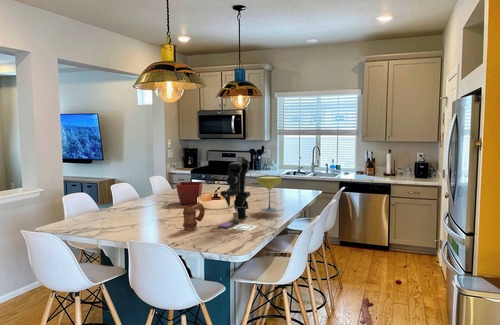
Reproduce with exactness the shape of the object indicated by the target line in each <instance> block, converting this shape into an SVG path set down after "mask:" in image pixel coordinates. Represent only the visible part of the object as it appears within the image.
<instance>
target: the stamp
mask: <svg viewBox="0 0 500 325" xmlns="http://www.w3.org/2000/svg"><path fill="white" fill-rule="evenodd" d="M231 223H234V224H235V225H240V219H239V218H238V213H237V212H236V211H235V212H232V221H231Z"/></svg>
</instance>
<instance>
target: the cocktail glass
mask: <svg viewBox="0 0 500 325" xmlns="http://www.w3.org/2000/svg"><path fill="white" fill-rule="evenodd" d="M256 180H257V183H258V184H259V185H261V186H262V187H265V188H266V190H267V191H268V207H267V208H266V207H265V208H263V209H261V210H262V211H263V212H275V211H274V210H276V209H277V208H273V207H272V206H271V190H272V189H273V188H275V186H278V185H280V184H281V183H282V176H280V175H259V176H257V178H256ZM276 211H277V210H276Z"/></svg>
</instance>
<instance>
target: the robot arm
mask: <svg viewBox="0 0 500 325" xmlns="http://www.w3.org/2000/svg"><path fill="white" fill-rule="evenodd" d="M249 168H250V162H249V160H247V159H246V157H245V156H237V157H236V160H235V161H234V162H230V163H229V165H228V166H227V175H229V176H227V178H226V183H227V185H228V187H229V188H227V190H225V189H224V190H221V191H220V197H222V198H224V200H225V201H226V204H227V207H230V206H231V197H234V196H235V197H234V200H233V205H234V209H235V210H236V211H237V213H238V219H246V218H247V217H248V215H246V210H248V209H249V203H248V199H247V198H249V197H251V193H250V191H246V176H247V173H248V172H249Z"/></svg>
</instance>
